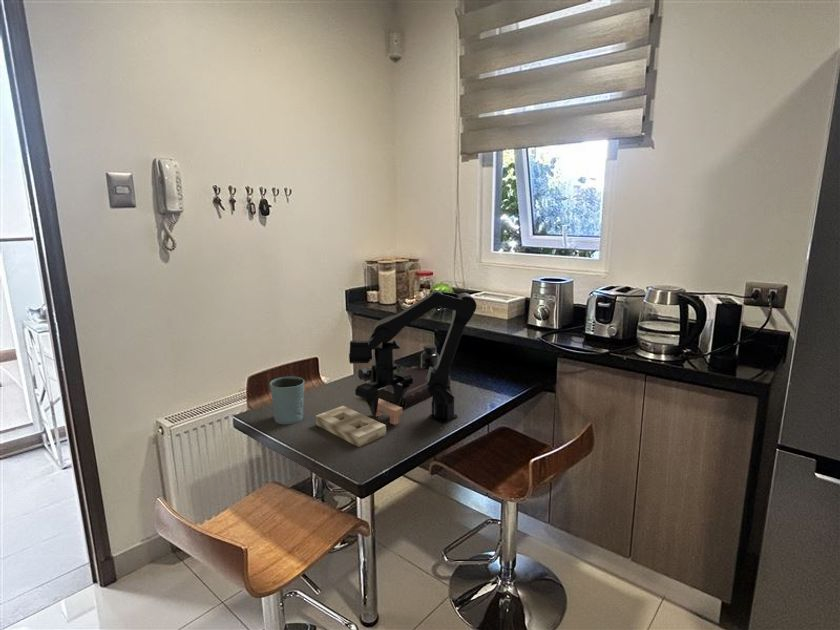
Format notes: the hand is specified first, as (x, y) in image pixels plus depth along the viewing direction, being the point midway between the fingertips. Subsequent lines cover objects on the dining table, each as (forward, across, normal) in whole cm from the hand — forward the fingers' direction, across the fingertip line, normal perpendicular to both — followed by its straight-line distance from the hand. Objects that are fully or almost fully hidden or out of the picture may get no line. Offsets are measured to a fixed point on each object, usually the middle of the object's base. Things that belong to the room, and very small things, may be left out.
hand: (385, 411), depth 150 cm
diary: (+3, -21, -11) cm, 24 cm away
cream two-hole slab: (+3, +12, -2) cm, 12 cm away
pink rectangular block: (+3, 0, 0) cm, 3 cm away
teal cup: (+3, +20, -22) cm, 30 cm away
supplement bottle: (+3, -37, -16) cm, 40 cm away
